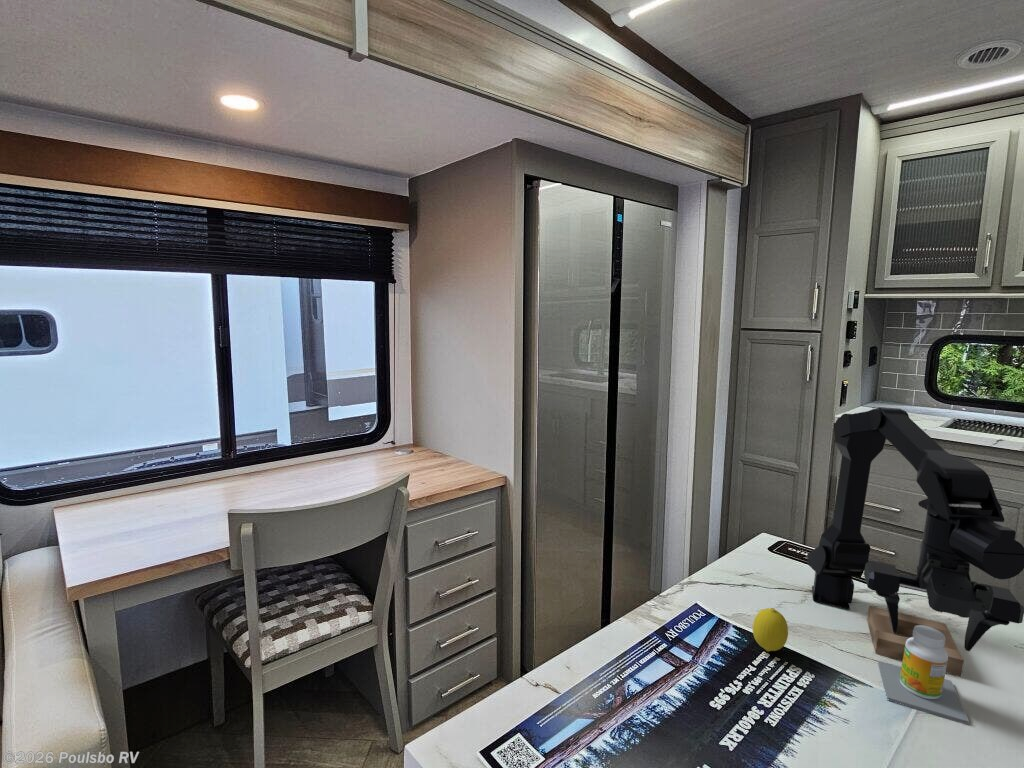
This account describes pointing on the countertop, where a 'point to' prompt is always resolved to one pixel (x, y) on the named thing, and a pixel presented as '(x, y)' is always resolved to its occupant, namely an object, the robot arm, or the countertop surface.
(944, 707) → the grey rubber mat
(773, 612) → the lemon
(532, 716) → the countertop surface
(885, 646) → the walnut open tray
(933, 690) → the supplement bottle
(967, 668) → the countertop surface
